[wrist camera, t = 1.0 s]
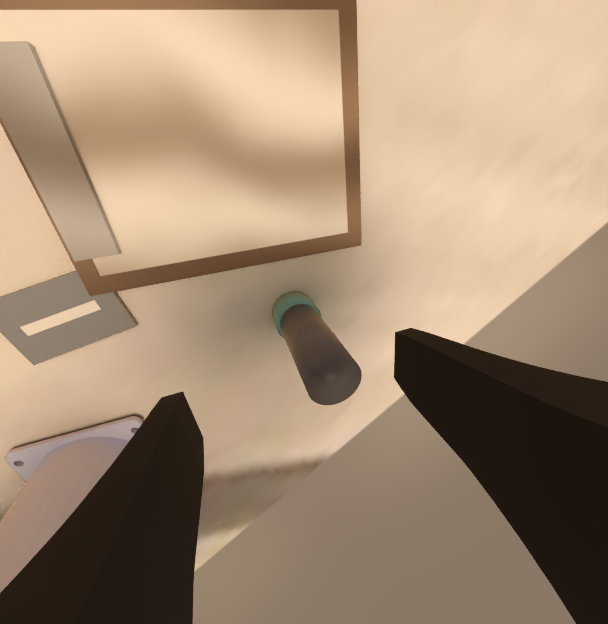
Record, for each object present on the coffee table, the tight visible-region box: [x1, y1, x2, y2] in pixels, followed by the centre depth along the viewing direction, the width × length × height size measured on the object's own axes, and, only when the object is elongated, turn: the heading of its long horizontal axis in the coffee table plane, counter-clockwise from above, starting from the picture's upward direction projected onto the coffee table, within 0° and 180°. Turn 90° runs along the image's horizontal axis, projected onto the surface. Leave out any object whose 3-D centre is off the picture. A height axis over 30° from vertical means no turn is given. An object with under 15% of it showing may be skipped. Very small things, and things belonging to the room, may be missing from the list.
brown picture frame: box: [0, 0, 361, 296], centre depth 13 cm, size 12×16×1 cm
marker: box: [272, 291, 361, 405], centre depth 15 cm, size 3×3×8 cm
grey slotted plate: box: [0, 271, 138, 365], centre depth 15 cm, size 4×6×1 cm, turn 107°
